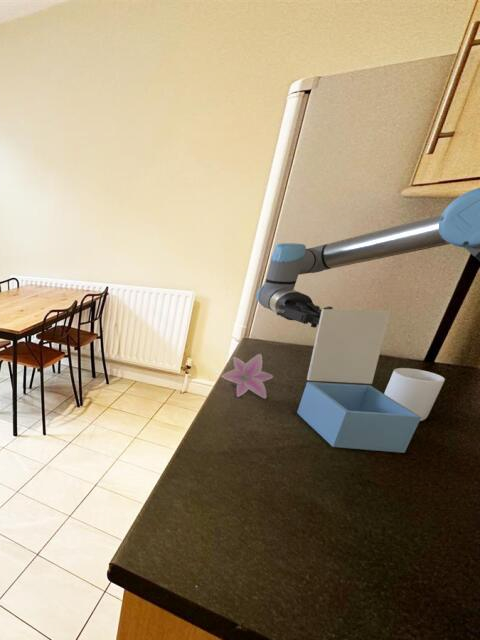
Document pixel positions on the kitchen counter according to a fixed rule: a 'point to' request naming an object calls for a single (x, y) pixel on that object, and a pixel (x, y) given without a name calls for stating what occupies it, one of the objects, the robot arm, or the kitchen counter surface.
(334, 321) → the case lid
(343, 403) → the case
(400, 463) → the kitchen counter surface
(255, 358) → the lily
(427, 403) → the cup
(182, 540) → the kitchen counter surface
